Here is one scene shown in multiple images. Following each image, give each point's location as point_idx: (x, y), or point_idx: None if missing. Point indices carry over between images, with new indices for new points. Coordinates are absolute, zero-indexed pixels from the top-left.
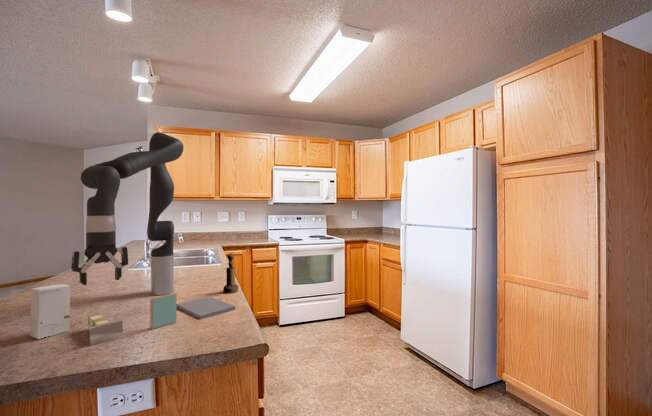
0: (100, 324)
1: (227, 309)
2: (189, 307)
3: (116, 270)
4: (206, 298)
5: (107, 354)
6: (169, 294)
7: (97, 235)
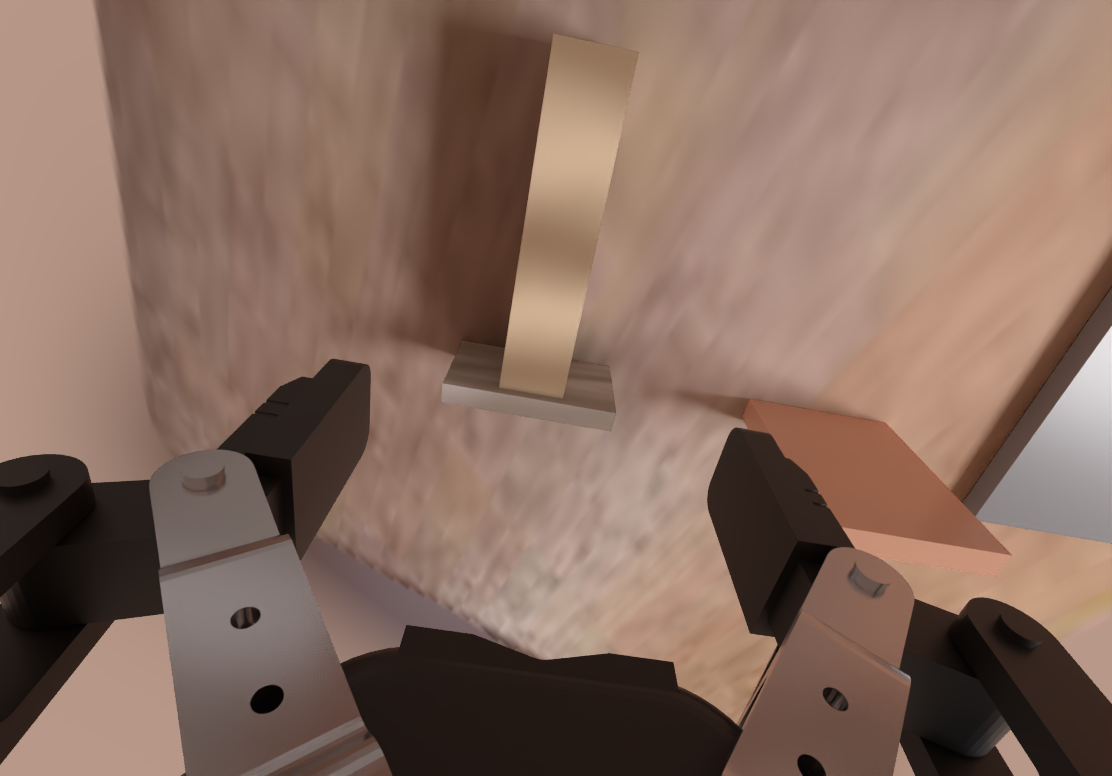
0: (519, 348)
1: None
2: None
3: (751, 582)
4: None
5: (469, 504)
6: (958, 557)
7: None
